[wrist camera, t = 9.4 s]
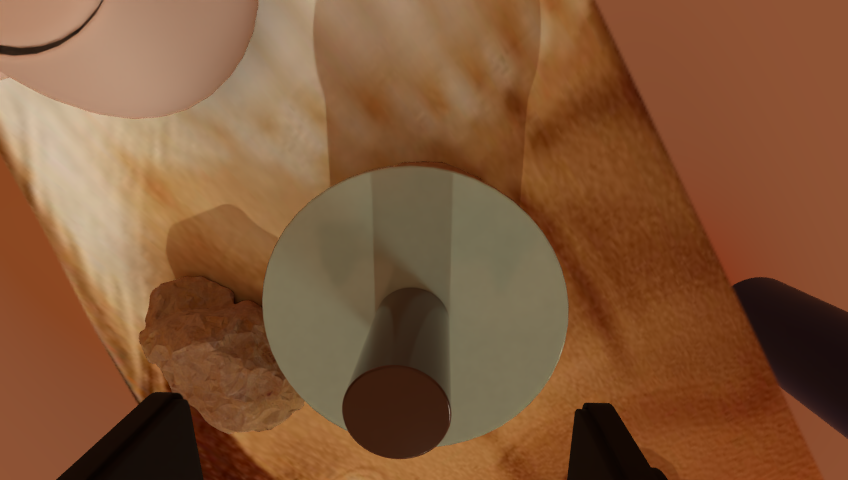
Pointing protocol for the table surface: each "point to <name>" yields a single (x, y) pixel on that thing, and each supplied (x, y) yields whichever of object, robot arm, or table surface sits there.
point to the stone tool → (217, 355)
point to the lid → (415, 308)
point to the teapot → (124, 51)
